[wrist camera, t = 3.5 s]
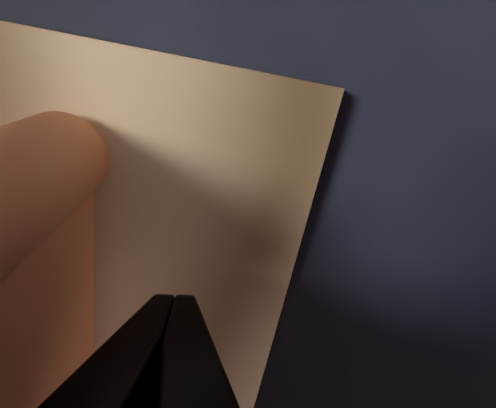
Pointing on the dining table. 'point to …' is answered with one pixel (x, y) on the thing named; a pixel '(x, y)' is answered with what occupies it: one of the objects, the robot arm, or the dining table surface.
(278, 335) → the dining table surface
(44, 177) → the gate panel
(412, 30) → the dining table surface
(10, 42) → the card
